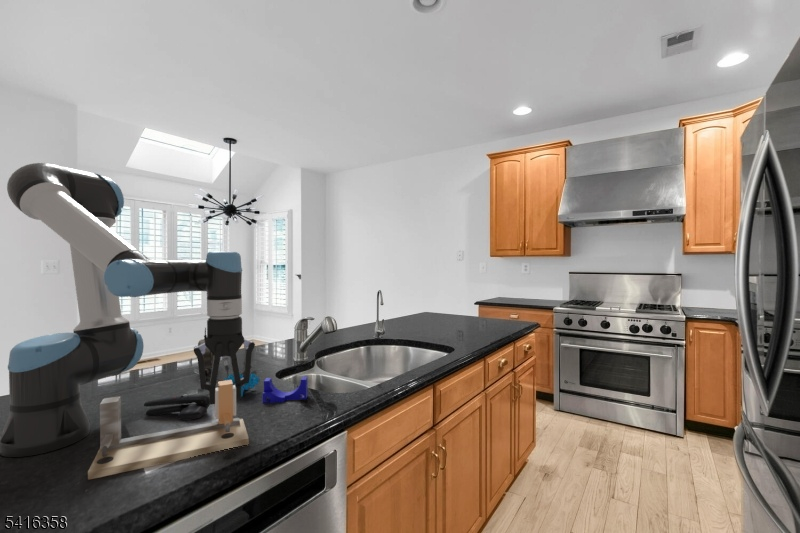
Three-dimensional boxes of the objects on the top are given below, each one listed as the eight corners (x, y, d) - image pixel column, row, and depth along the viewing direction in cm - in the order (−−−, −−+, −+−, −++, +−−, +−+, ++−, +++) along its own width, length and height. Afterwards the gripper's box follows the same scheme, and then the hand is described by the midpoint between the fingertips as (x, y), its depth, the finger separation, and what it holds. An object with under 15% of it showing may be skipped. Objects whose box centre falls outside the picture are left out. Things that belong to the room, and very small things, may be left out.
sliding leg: (220, 433, 84) (219, 391, 84) (218, 420, 91) (217, 381, 91) (235, 430, 86) (234, 389, 85) (231, 417, 93) (231, 379, 93)
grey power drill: (212, 374, 137) (212, 329, 136) (195, 376, 135) (195, 330, 134) (214, 366, 147) (214, 324, 147) (199, 368, 145) (198, 325, 145)
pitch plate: (87, 479, 71) (87, 418, 71) (101, 451, 81) (101, 397, 81) (248, 445, 84) (248, 393, 84) (242, 424, 95) (242, 378, 95)
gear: (262, 382, 122) (254, 367, 115) (262, 400, 118) (253, 385, 111) (226, 389, 120) (215, 374, 113) (224, 407, 116) (213, 392, 109)
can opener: (216, 411, 104) (216, 390, 104) (200, 422, 97) (200, 399, 97) (155, 409, 105) (155, 388, 105) (135, 419, 99) (135, 397, 98)
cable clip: (262, 403, 109) (262, 382, 109) (266, 398, 114) (266, 378, 114) (305, 401, 111) (305, 381, 110) (307, 396, 115) (307, 376, 115)
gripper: (185, 321, 83) (186, 428, 83) (263, 316, 91) (263, 414, 91) (186, 317, 90) (187, 416, 90) (258, 312, 97) (259, 404, 98)
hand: (225, 415), depth 91 cm, fingers closed on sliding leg, 3 cm apart
